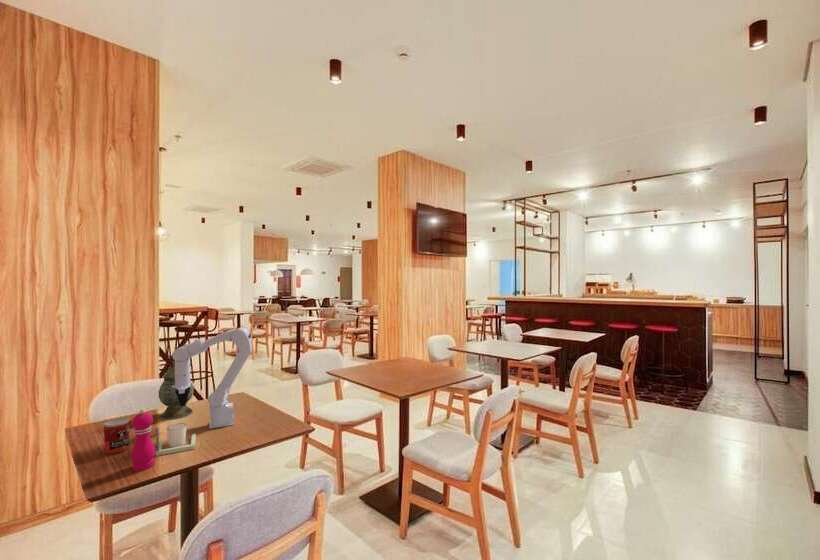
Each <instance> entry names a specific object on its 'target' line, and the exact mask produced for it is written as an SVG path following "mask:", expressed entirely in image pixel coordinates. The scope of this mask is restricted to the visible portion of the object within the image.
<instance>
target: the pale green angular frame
mask: <svg viewBox="0 0 820 560" xmlns="http://www.w3.org/2000/svg"><path fill="white" fill-rule="evenodd" d="M153 435H156V436H155V437H156V441H155V442H156V443H155V444H156V449H155V450H156V453H155V456H156V457H157V456H158V457H159V456H164V455H169V454H175V453H180V452H186V451H190V450H195V447H196V441H197V440H196V439H197V437H196V436H197V435H196V433H194V434H193V433H192V435H191V440H190V444H186V445H185V444H184V445H181V446H177V447H169V448H168V447H167V448H164V449H163V446H164V439H160V428H159V427H156V428H153V429H152V428H151V431H150V436H153Z"/></svg>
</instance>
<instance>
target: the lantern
mask: <svg viewBox="0 0 820 560" xmlns="http://www.w3.org/2000/svg"><path fill="white" fill-rule="evenodd" d="M162 379H163V381H162V383H161V385H160V387H159V390H158V398H159V401H160V403H162V404H163V405H164V406H166V409H165V410H164V411H163V412H162V413H161V414H160V416H159V418H160V419H161V420H165V421H166V420H168V421H169V420H178V419H183V418H185V417H188V415H189V416H191V415H192V414H193V412H194V410H193V409H192V408H190V407H189V406H188V405H186V406H180V404H179V399H178V397H177V395H176V393H175V390H176V388H172V385H175V362H174V363H172V364H171V365H169V366H168V370H167V371H166V373H165V374H164V375H163V377H162ZM190 383H191V386H190V392H189V394H188V397H187V403H188V402H189V401H190V400H191V399H192V397H193V395H194V389H195V388H194V385H193V383H192V381H191V380H190ZM190 414H191V415H190Z"/></svg>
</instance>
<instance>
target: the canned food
mask: <svg viewBox="0 0 820 560" xmlns="http://www.w3.org/2000/svg"><path fill="white" fill-rule="evenodd" d="M103 437H104V439H103V440H104V442H103V444H104V452H105V455H117V454H121V453H124V452H126V451H127V450H128V449H130V448H129V447H130V419H129V418H127V417H117V418H112V419H110V420H107V421H105V422H104V424H103Z"/></svg>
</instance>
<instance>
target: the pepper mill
mask: <svg viewBox="0 0 820 560" xmlns="http://www.w3.org/2000/svg"><path fill="white" fill-rule="evenodd" d="M131 421H132V422H131V425H132V427H133V428H134V429H133V434H134V435H135V441H134V444H133V447H132V449H131V451H130V452H131V453H130V457H129V459H130V460H131V461H132V465H131V466H132V469H131V470H132V471H135V472H137V471H138V472H139V471H145V470H147V469H150V468H152V467H153V466H154V465H155V459H154V457H155V456H156V450H157V449H156V447H155V444H154V442H153V441H152V439H151V435H150V431H151V429H152V424H153V422H154V418H153V415H152V414H151V413H150V412H149V413H148V412H146V409H144V408H141V409H140V410H139V413H137V414H136V415H135V416H134V417H133V418H132V420H131Z"/></svg>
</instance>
